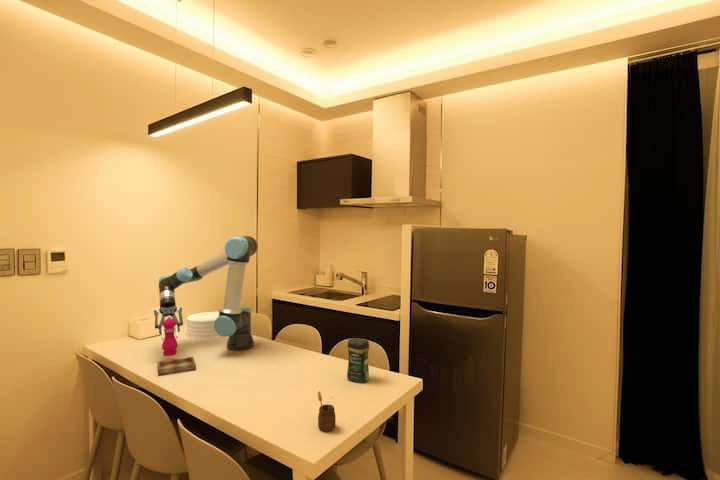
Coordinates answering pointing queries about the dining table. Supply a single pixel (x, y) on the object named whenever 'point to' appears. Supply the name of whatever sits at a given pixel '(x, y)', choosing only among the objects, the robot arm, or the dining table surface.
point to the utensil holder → (326, 416)
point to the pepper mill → (169, 337)
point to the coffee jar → (358, 360)
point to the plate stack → (202, 326)
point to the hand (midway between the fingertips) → (170, 337)
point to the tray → (176, 366)
